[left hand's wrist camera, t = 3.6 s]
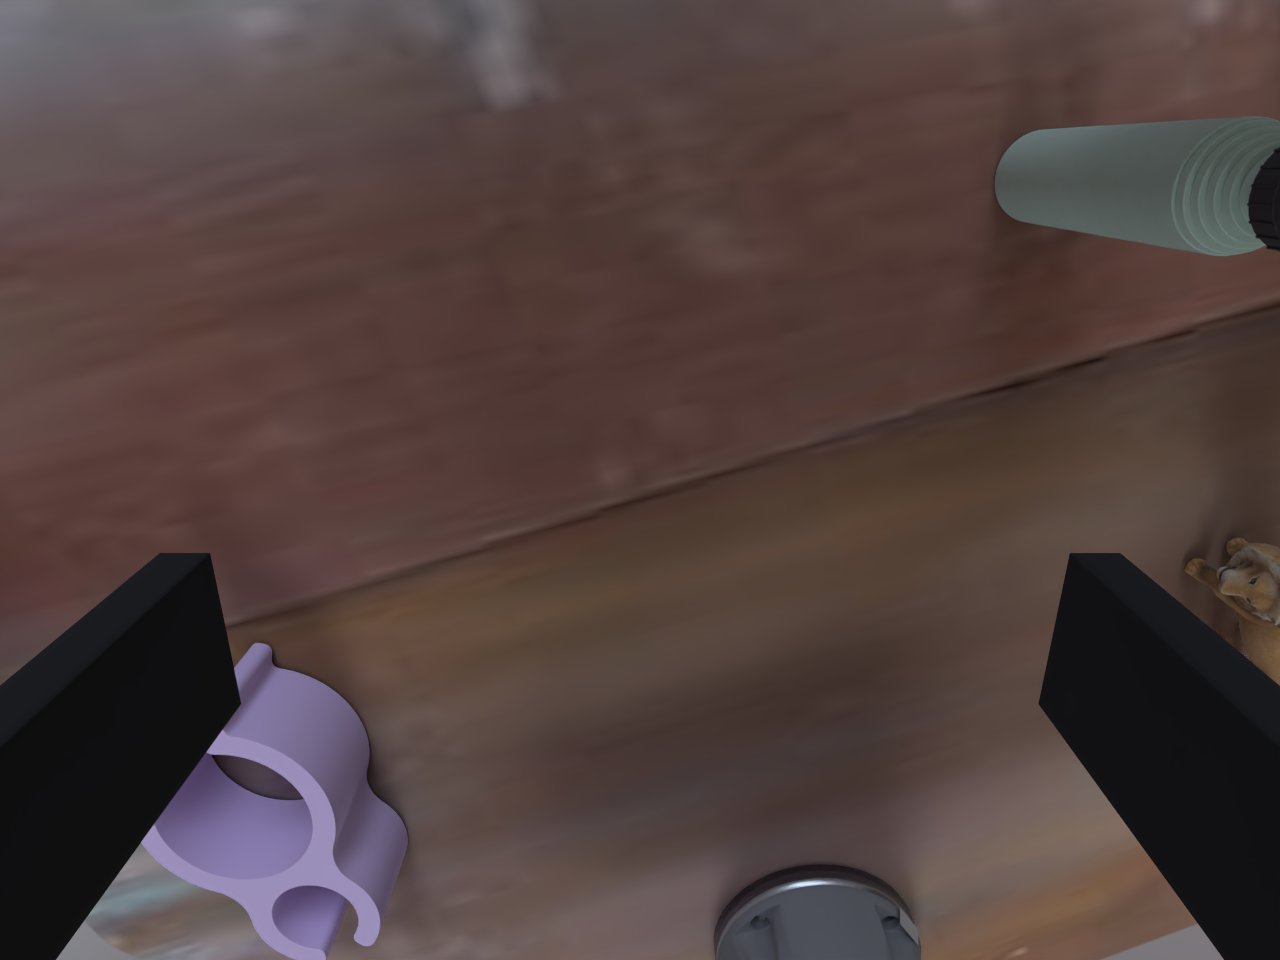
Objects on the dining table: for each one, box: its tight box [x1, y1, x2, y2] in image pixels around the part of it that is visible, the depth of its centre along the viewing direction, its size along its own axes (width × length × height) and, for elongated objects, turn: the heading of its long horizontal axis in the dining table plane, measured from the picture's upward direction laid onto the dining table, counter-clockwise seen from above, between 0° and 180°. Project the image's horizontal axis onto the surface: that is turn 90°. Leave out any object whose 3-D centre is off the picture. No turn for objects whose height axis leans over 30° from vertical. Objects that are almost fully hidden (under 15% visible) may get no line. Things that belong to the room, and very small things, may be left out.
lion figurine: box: [1184, 537, 1280, 686], centre depth 49 cm, size 15×5×9 cm, turn 27°
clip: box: [141, 643, 408, 960], centre depth 55 cm, size 20×12×7 cm, turn 26°
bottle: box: [995, 116, 1280, 256], centre depth 35 cm, size 5×5×20 cm
